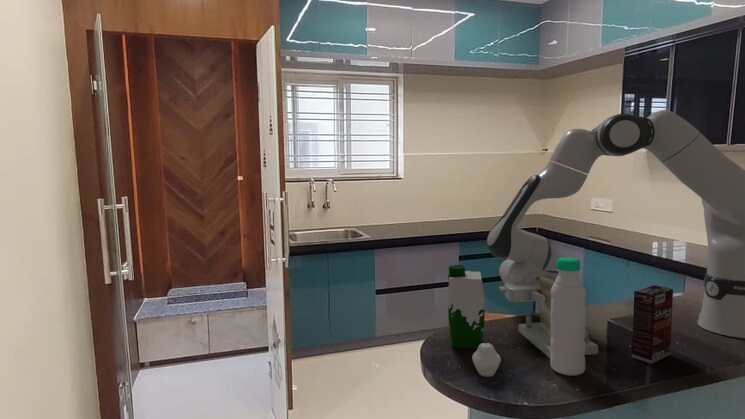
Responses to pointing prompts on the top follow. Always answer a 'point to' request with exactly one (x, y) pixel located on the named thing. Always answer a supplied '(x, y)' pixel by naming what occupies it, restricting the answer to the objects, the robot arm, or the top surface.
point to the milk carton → (465, 307)
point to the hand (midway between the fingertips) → (557, 299)
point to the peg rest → (549, 337)
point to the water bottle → (568, 319)
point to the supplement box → (652, 323)
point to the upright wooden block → (545, 308)
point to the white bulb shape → (486, 360)
